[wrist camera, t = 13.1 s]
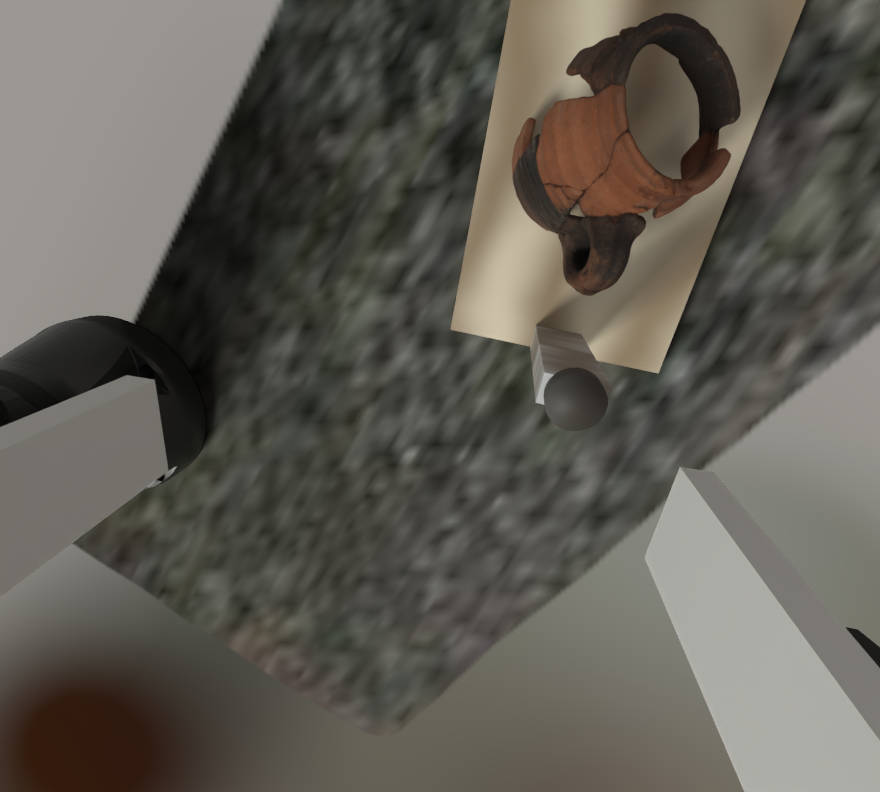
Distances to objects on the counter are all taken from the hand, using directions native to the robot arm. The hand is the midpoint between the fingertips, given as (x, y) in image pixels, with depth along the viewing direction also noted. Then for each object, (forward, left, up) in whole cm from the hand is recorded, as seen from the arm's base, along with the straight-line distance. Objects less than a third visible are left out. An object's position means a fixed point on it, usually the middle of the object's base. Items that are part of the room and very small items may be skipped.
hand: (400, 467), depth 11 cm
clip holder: (+6, +9, -21) cm, 24 cm away
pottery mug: (+5, +9, -20) cm, 23 cm away
